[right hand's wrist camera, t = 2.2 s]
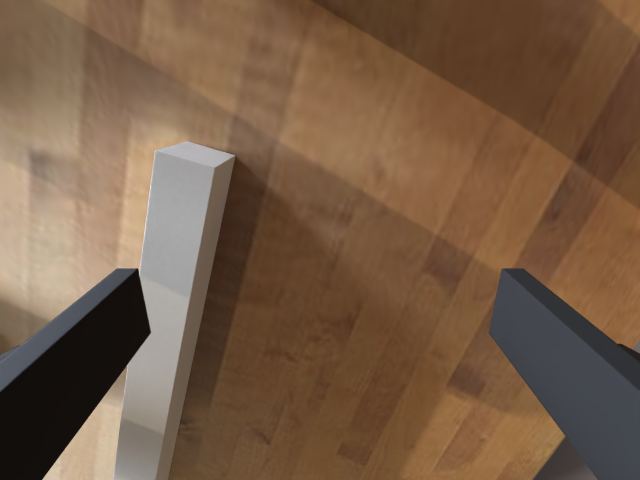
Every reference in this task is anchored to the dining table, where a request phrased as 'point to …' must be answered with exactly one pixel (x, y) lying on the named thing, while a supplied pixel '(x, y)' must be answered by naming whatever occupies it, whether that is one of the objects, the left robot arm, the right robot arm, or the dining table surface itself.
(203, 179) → the bar
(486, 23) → the dining table surface
